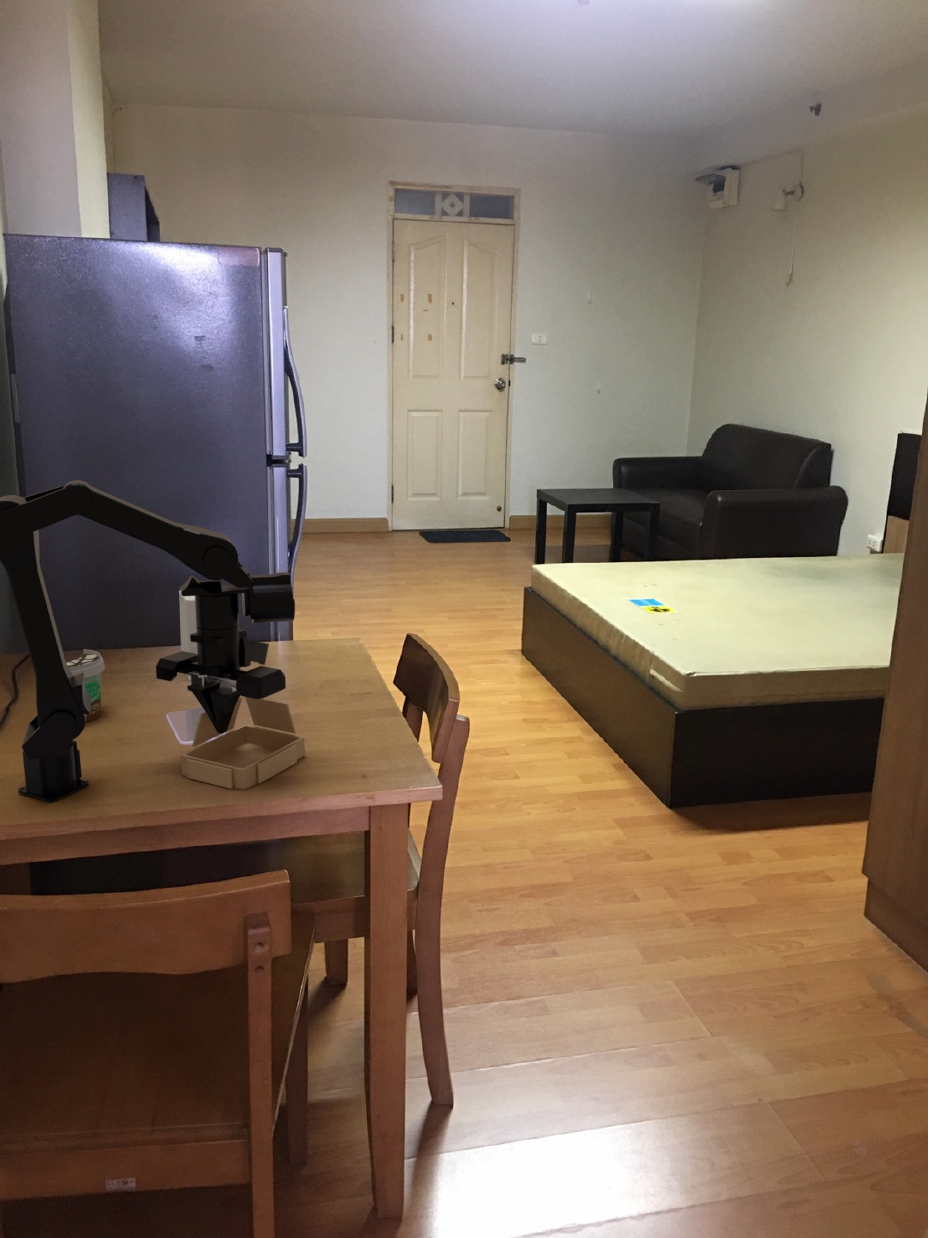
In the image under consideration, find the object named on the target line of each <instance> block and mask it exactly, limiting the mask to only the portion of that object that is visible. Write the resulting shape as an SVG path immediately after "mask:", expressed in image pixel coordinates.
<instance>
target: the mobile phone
mask: <svg viewBox="0 0 928 1238" xmlns="http://www.w3.org/2000/svg"><path fill="white" fill-rule="evenodd" d="M204 712H205V710H204V709H203V707H199V708H192V709H184V710H175V711H169V712H167V713H166V714H165V717H166V720H167V721H168V724H169V725H170V728H171V729H172V731H173V733H174V736H175V737H176V739H177V741H178V743H179V744H180V745H184V746H189V745H193V741H194V737H195V734H196V730H197V726H198V722H199V718H200V715H201V714H202V713H204ZM226 733H228V731H227V732H225V733H223V734H221V735H218V736H216V737H214V738H212V739H210V740H208V741H206V742H205V743H207V742H210V741H212V740H214V739H216V738H218V737H220V736H222V735H224V734H226Z"/></svg>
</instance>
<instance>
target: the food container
mask: <svg viewBox="0 0 928 1238" xmlns="http://www.w3.org/2000/svg"><path fill="white" fill-rule="evenodd" d="M65 661H66V664H67V666H68V668H69V669H70V671H71V672H72V674H73V675H74V676H75V675H78V674H80V673H84V678H85V688H86V691H87V693H88V694H89V696H90V697H91V704H90V713H89V715H86V722H85V725H87V724H89V723H92V722H94V721H97V720H98V719H100V717H101V716H102V715H101V714H102V713H101V712H102V709H101V707H102V705H101V704H102V690H101V689H102V687H101V686H102V672H104V671H105V669H106V665H105V662H104V658H103V657H102V656H101V654H100V652H98V651H95V650H92V649H85V648H83V654H82V655H80V656H78V657H76V658H73V659H69V660H65Z"/></svg>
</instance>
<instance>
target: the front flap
mask: <svg viewBox="0 0 928 1238" xmlns="http://www.w3.org/2000/svg"><path fill="white" fill-rule="evenodd" d="M244 698H245V702H246V704H247V707H248V710H249V714H250V717H251V719H252V723H253V725H254V726H256V727H258V726H259V727H261V728H265V729H270V730H275V731H279V732H280V731H281V732H284V733H289V734H293V735H296V733H297V731H296V727H295V724H294V720H293V717H292V714H291V711H290V707H289V704H288V702H284V701H281V700H280V701H279V700H273V699H269V698H266V697H265V698H263V699H253V698H248V697H244Z"/></svg>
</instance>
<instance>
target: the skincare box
mask: <svg viewBox="0 0 928 1238" xmlns="http://www.w3.org/2000/svg"><path fill="white" fill-rule="evenodd" d="M178 594H179V597H178V598H179V624H180V625H179V626H180V629H179V630H180V652H181V651H185V652H190V653H195V654H198V653H197V643H196V642H190V634H193V633H196V611H195V596H182V595H181V591H180V590H178ZM184 675H185V677H186V678H187V680H188V681H189V682H191V676H189V675H188V674H184Z"/></svg>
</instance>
